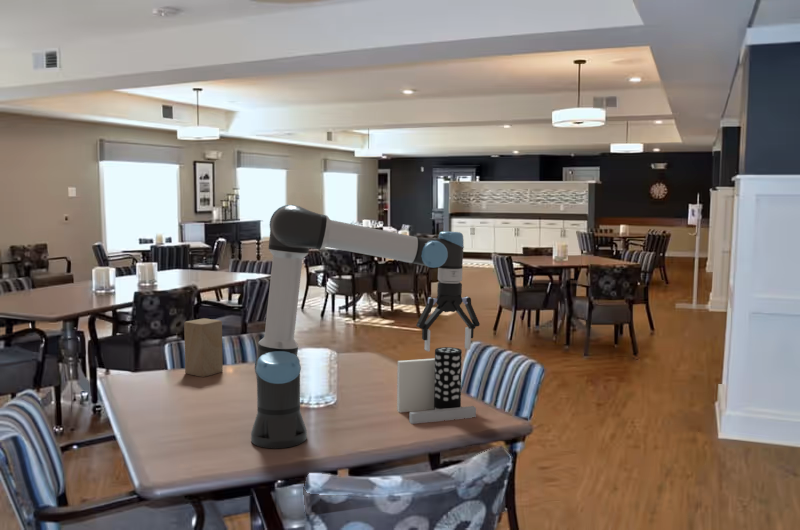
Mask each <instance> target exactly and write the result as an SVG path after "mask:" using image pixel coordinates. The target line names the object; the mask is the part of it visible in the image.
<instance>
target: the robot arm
mask: <svg viewBox="0 0 800 530" xmlns="http://www.w3.org/2000/svg"><path fill="white" fill-rule="evenodd" d="M269 231H270V232H269V239H268V240H269V241H268V247H267V249H268V251H269V252H270V254H271V255H272V264H271V270H270V272H271V273H270V279H269V280H270V281H269V290H268V291H269V292H268V299H267V300H268V301H267V308H266V309H267V310H266V318H265V330H264V337H263V338H261V339H260V340H259V341H258V342H257V343H258V345H257V353H256V358H255V361H254V373H255V377H256V397H257V398H256V400H257V402H256V403H257V409H256V410H257V411H256V413H257V414H256V417H255V419H254V423H253V425H252V429H251V432H250V435H251V436H250V441H251V443H252V444H253V445H255V446H257V447H259V448H260V447H261V448H265V449H285V448H286V449H287V448H291V447H296V446H299V445H301V444H303V443H304V442H306V440H307V438H308V437H307V434H308V433H307V431H308V430H307V427H306V425H305V421H304V418H303V415H302V412H301V369H302V367H301V364H300V361H301V360H300V359H299V356H298V352H299V344H298V343H297V342H296V340H295V332H296V321H297V315H298V303H299V294H300V286H301V278H302V277H301V276H302V269H303V268H302V267H303V259H304V258H305V257H307V256H308V255H309V253H310V249H315V250H319V251H320V250H321V251H322V250H323V249H324V248H328V249H329V248H330V249H335V250H340V251H345V252H351V253H357V254H363V255H368V256H373V257H378V258H384V259H389V260H394V261H400V262H404V263H410V264H411V263H412V264H415V265H420V266H426V267H427V268H433V269H435V268H437V280H438V282H437V286H436V287H437V289H436V290H437V291H436V293H437V296H436V298H434V297H430V296H428V297H427V299H426V304H425V306H424V309H423V310H422V312H421V315H420V317H419V319H418V321H417V322H416V327H418V329H419V328H420V329H421V339H422V341H424V351H426V352H430V351H431V330H430V327H431V326H433V324H434V322H435V321H436V320H437V319H438V317H440V315H441V314H442V313H443V312H444V313H450V312H451V313H457V314H458V315H459V316H460V318H461V319H462V320H463V322H464V323H465V324H466V326H467V327H466V326H465V328H464V329H465V331H464V349H466V350H471V342H472V339H473V338H474V330H475V329H476V327H479V326H480V325H481V324H480V321H479V319H478V317H477V315H476V313H475V309H474V308H473V305H472V298H471V297H469V296H468V295H467V296H464V297H462V293H463V288H462V287H463V284H462V281H463V264H464V263H463V262H464V261H463V259H464V248H465V246H464V244H465V243H464V235H463V233H462V232H460V231H439V234H438V237H434V238H433V237H417V236H413V235H408V234H403V233H398V232H392V231H387V230H384V229H380V228H379V229H378V228H374V227H373V228H372V227H368V226H367V227H366V226H363V225H359V224H358V225H357V224H353V223H348V222H341V221H337V220H332V219H330V218H329V216H328V215H326V214H321V213H318V212H314V211H311V210H309V209H306V208H305V207H302V206H300V205H295V204H285V205H282V206H281V207H279V208H277V209H276V210H275V211H274V212H273V213H272V215H271V217H270V220H269ZM462 303H463V305H464V306H465V309H466V311H467V313H468V315H469V317H470V318H469V317H468V315H467V314H466V313H465V312H464V310H463V308H462V307H461V304H462ZM435 304H437V306H436V307H435V308H434V311H433V312H432V309H433V307H434V306H435ZM431 312H432V313H431ZM430 313H431V314H430Z"/></svg>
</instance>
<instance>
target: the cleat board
mask: <svg viewBox="0 0 800 530" xmlns="http://www.w3.org/2000/svg"><path fill="white" fill-rule="evenodd" d="M396 374H397V376H396V377H397V382H396V383H397V385H396V387H397V388H396V389H397V392H396V393H397V394H396V412H398V413H407V412H409V415H408V417H409V418H408V420H409V423H410V424H411V425H414V424H423V423H432V422H433V423H435V422H444V420H445V421H454V419H455V420H464V418H465V419H473V418H472V417H475V418H477V414H476V413H477V407H475V406H474V405H469V406H461V407H458V408H447V409H437V410H434V383H435V357H434V358H433V357H432V358H423V359H422V358H421V359H409V360H407V359H406V360H397V373H396Z"/></svg>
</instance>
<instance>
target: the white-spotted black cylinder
mask: <svg viewBox="0 0 800 530" xmlns="http://www.w3.org/2000/svg"><path fill="white" fill-rule="evenodd" d="M462 352H463V350H462V349H461V348H458V347H450V346H449V347H448V346H445V347H438V348H437V347H436V348H435V349H434V358H435V383H434V409H433V410H437V409H447V408H458V407H462V406H461V405H462V403H461V402H462V400H461V399H462V362H463V361H462V359H463V358H462V357H463V356H462V355H463V354H462Z"/></svg>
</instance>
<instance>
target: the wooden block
mask: <svg viewBox="0 0 800 530" xmlns="http://www.w3.org/2000/svg"><path fill="white" fill-rule="evenodd" d="M183 325H184V326H183V328H184V329H183V331H184V332H183V335H184V370H185V371H184V372H185V374H187V375H190V376H194V377H195V376H197V377H202V378H205V377H208V376H212V375H216V374H220V373H223V370H224V369H223V367H224V365H223V361H224V360H223V321H222V320H219V319H212V318H211V319H210V318H205V317H203V318H199V319H193V320H186V321H184V323H183Z"/></svg>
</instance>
